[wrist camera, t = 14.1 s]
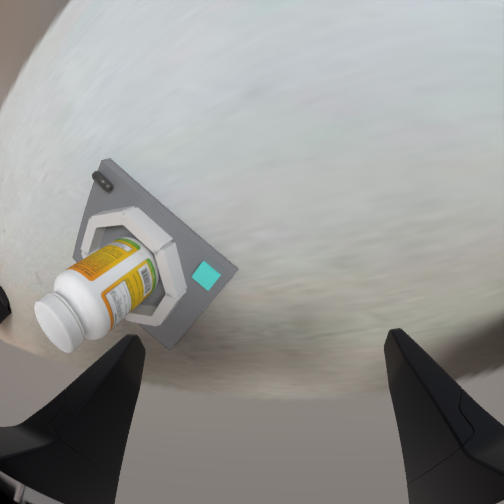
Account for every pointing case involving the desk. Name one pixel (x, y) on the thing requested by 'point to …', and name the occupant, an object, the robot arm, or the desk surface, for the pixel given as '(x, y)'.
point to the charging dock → (177, 231)
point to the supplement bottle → (97, 293)
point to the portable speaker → (3, 305)
